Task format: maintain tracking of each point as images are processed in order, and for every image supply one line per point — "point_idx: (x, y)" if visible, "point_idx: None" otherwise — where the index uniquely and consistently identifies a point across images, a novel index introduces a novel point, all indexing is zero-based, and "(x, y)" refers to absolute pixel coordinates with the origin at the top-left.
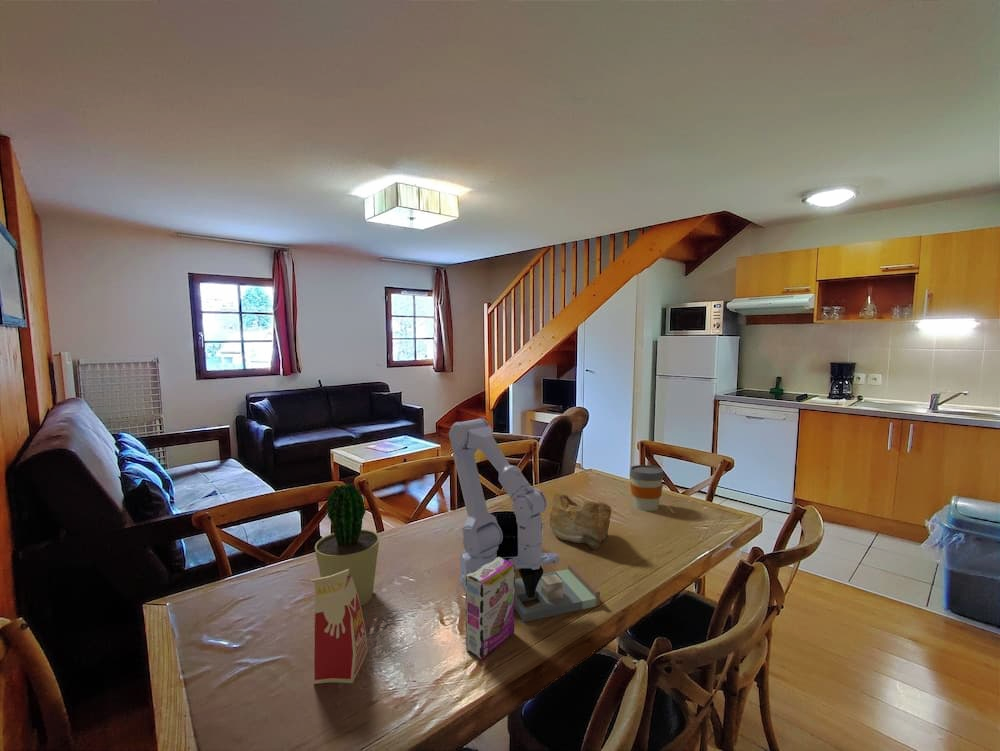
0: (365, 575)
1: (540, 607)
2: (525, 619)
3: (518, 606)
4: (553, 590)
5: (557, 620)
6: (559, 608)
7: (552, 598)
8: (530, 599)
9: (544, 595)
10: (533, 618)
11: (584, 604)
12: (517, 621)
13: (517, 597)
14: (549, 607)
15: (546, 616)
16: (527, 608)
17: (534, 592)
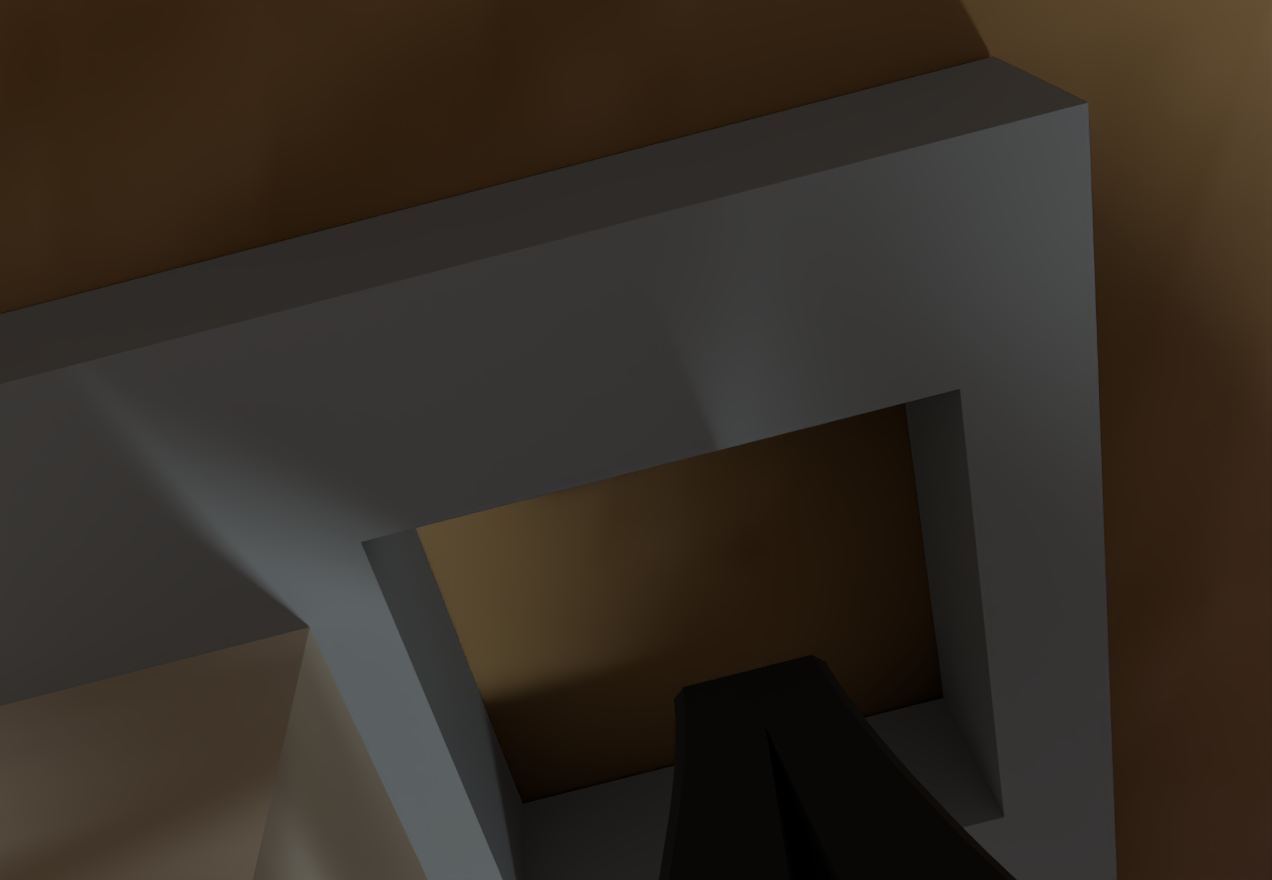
0: None
1: (545, 369)
2: (966, 78)
3: (1100, 441)
4: (74, 861)
5: (119, 62)
6: (2, 361)
7: (172, 684)
8: (663, 779)
9: (377, 794)
10: (744, 135)
11: None
12: (1113, 112)
13: (1013, 748)
14: (285, 350)
15: (399, 214)
16: (906, 344)
17: (699, 773)
